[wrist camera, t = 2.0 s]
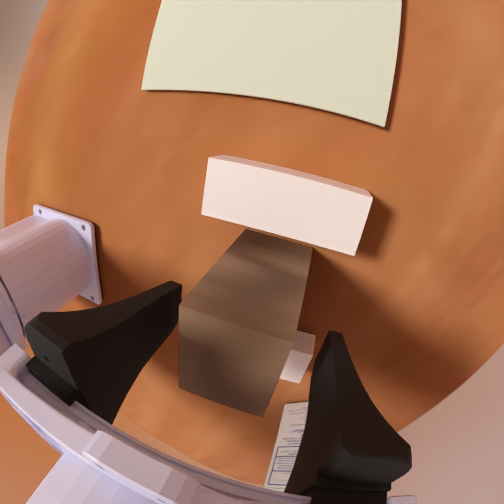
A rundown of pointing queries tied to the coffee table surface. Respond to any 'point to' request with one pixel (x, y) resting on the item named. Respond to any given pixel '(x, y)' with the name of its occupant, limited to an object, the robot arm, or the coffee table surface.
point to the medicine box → (286, 445)
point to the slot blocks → (287, 216)
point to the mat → (280, 51)
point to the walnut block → (243, 321)
